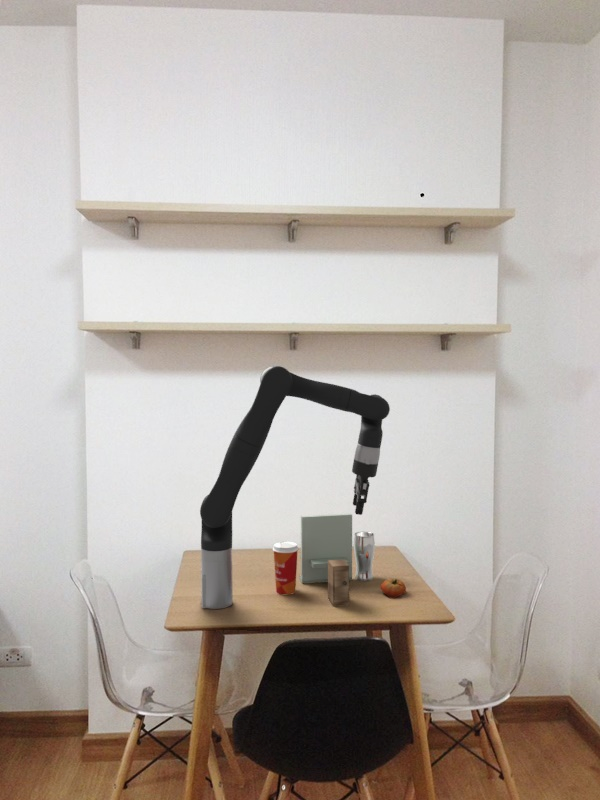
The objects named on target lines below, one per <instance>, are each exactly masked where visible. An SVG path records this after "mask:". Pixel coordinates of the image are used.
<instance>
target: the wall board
mask: <svg viewBox="0 0 600 800" xmlns="http://www.w3.org/2000/svg"><path fill="white" fill-rule="evenodd" d="M342 559H344V560H345V561H346V562H347V564H348V565H349V581H352V580H353V514H352V513H333V514H331V513H328V514H311V515H309V514H308V515H300V575H299V576H298V577H299V578H298V579H299V581H300V582H301V584H302V583H304V584H312V583H313V584H315V583H314V582H318V583H328V560H342Z"/></svg>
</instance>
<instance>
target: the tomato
mask: <svg viewBox="0 0 600 800" xmlns="http://www.w3.org/2000/svg"><path fill="white" fill-rule="evenodd" d="M380 590H381V592H382V593H384V595H386V596H387V597H389V598H390V597H391V598H390V599H394V598H397V597H399V596H401V595H404V594H406V593H407V587H406V585H405V583H404V582H403V581H402V580H400V579H398V578H387V579H386V580H383V582H382V583H381V584H380Z"/></svg>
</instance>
